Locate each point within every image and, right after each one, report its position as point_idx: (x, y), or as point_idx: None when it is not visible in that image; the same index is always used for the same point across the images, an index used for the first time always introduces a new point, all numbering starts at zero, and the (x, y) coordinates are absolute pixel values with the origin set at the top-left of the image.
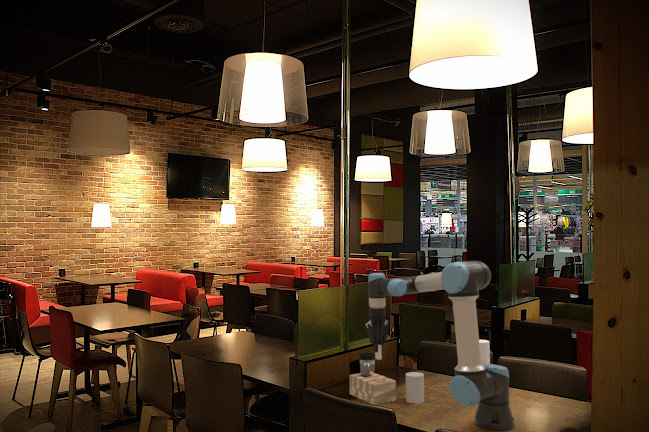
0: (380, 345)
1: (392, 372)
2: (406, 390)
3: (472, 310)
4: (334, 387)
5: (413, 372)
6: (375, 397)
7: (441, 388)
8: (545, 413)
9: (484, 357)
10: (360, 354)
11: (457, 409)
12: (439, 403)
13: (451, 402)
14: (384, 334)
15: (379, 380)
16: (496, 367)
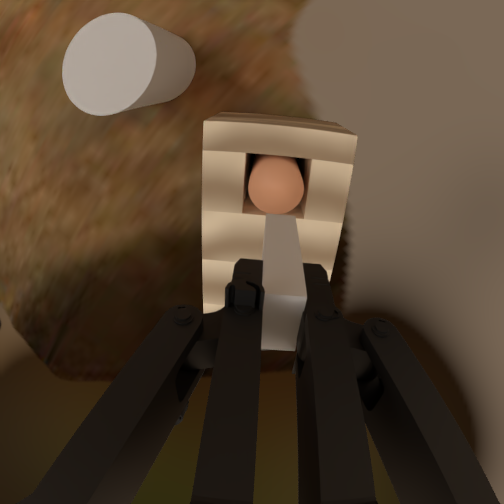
0: (277, 291)
1: (68, 347)
2: (180, 75)
3: None
4: (294, 352)
5: (86, 101)
6: (335, 125)
7: (10, 152)
8: None
9: None
10: (182, 417)
11: None
12: (108, 6)
13: (71, 3)
14: (156, 410)
15: (289, 165)
16: None
